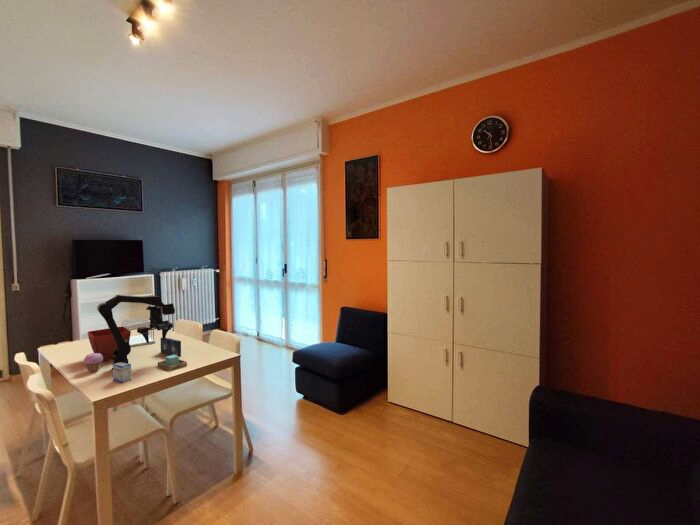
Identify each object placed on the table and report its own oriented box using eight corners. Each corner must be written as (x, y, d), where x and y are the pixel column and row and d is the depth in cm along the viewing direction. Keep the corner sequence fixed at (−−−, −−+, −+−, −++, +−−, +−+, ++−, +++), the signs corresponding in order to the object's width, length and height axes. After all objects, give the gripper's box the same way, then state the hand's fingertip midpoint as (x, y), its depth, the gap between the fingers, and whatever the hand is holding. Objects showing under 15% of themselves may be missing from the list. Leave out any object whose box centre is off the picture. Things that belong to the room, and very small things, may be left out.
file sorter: (120, 340, 250) (120, 320, 250) (147, 336, 262) (146, 316, 261) (127, 348, 232) (126, 325, 231) (155, 343, 244) (155, 322, 243)
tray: (169, 370, 188) (169, 366, 188) (157, 366, 196) (157, 362, 196) (186, 365, 197) (186, 361, 197) (174, 361, 204) (174, 357, 204)
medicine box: (112, 380, 174) (112, 364, 174) (121, 377, 179) (120, 361, 178) (123, 382, 172) (122, 366, 171) (131, 379, 176) (131, 363, 175)
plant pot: (94, 365, 198) (93, 336, 197) (87, 357, 211) (87, 331, 210) (132, 357, 212) (131, 331, 211) (123, 351, 225) (122, 326, 224)
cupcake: (83, 370, 188) (82, 353, 188) (102, 367, 194) (101, 350, 194) (85, 375, 182) (84, 356, 182) (104, 371, 188) (104, 353, 188)
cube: (170, 367, 193) (170, 358, 193) (165, 365, 196) (165, 356, 195) (178, 364, 197) (178, 356, 197) (174, 362, 200) (174, 354, 200)
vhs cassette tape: (181, 356, 215) (181, 340, 214) (177, 357, 212) (176, 341, 212) (164, 351, 224) (164, 336, 224) (160, 352, 221) (160, 337, 221)
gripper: (145, 320, 191) (146, 347, 192) (177, 315, 207) (178, 340, 207) (136, 318, 198) (136, 344, 198) (168, 313, 213) (168, 337, 214)
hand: (155, 341), depth 204 cm, fingers open, 9 cm apart
